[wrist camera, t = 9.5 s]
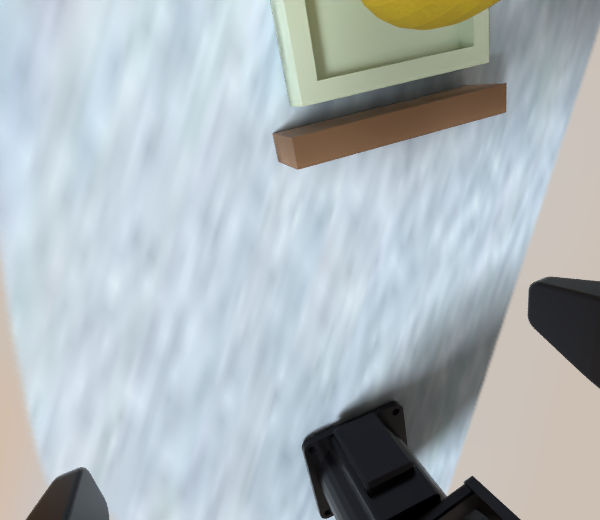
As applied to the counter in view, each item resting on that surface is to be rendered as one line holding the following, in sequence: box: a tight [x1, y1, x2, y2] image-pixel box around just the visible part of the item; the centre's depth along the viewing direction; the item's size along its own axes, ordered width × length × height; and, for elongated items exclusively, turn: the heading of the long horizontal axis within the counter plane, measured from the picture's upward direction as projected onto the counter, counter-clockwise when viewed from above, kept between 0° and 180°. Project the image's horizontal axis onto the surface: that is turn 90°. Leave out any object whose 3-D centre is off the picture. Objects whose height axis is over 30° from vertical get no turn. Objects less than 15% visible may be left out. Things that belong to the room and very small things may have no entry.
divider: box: [273, 83, 506, 169], centre depth 18 cm, size 1×10×2 cm, turn 102°
